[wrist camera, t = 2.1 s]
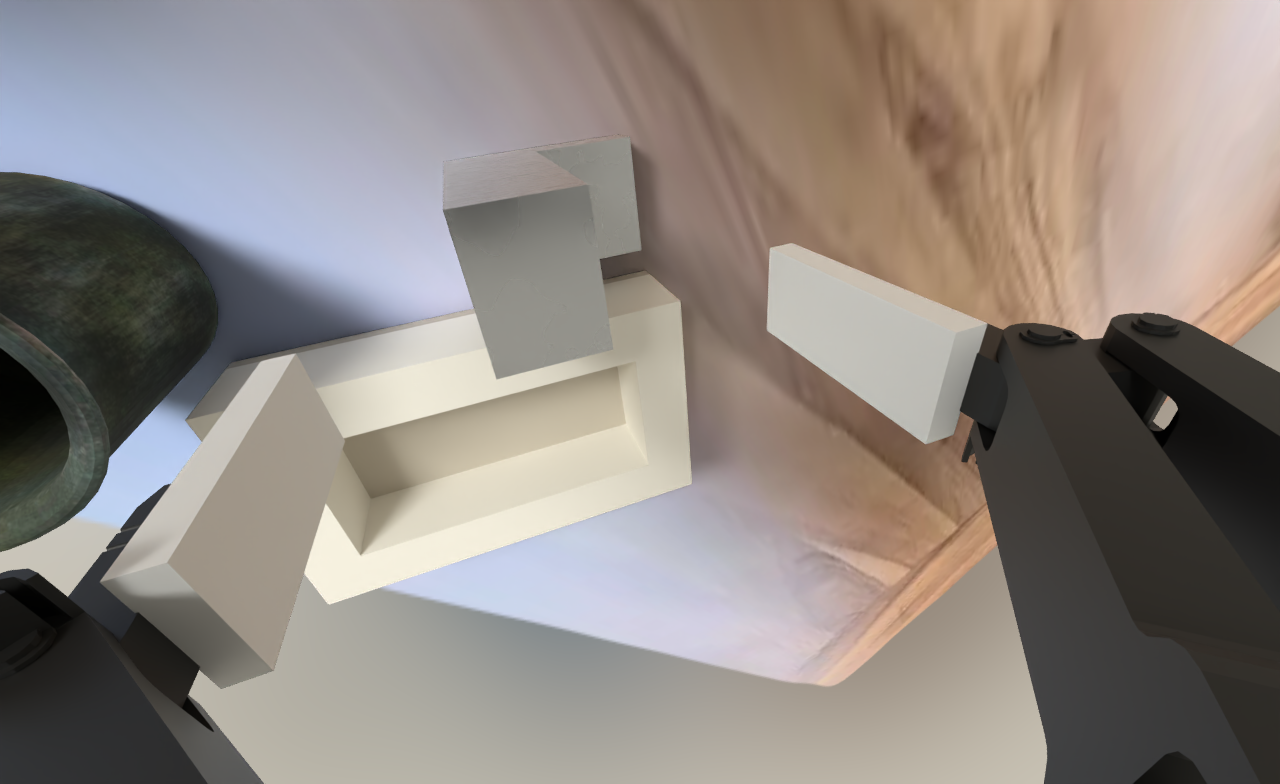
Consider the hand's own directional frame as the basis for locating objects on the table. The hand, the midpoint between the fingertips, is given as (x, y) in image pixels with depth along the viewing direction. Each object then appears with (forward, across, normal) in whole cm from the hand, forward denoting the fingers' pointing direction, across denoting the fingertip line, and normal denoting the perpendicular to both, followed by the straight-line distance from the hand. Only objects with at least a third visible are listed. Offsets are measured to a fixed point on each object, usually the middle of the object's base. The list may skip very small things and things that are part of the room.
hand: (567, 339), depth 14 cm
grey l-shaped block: (+17, +2, 0) cm, 17 cm away
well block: (+17, -4, -12) cm, 21 cm away
